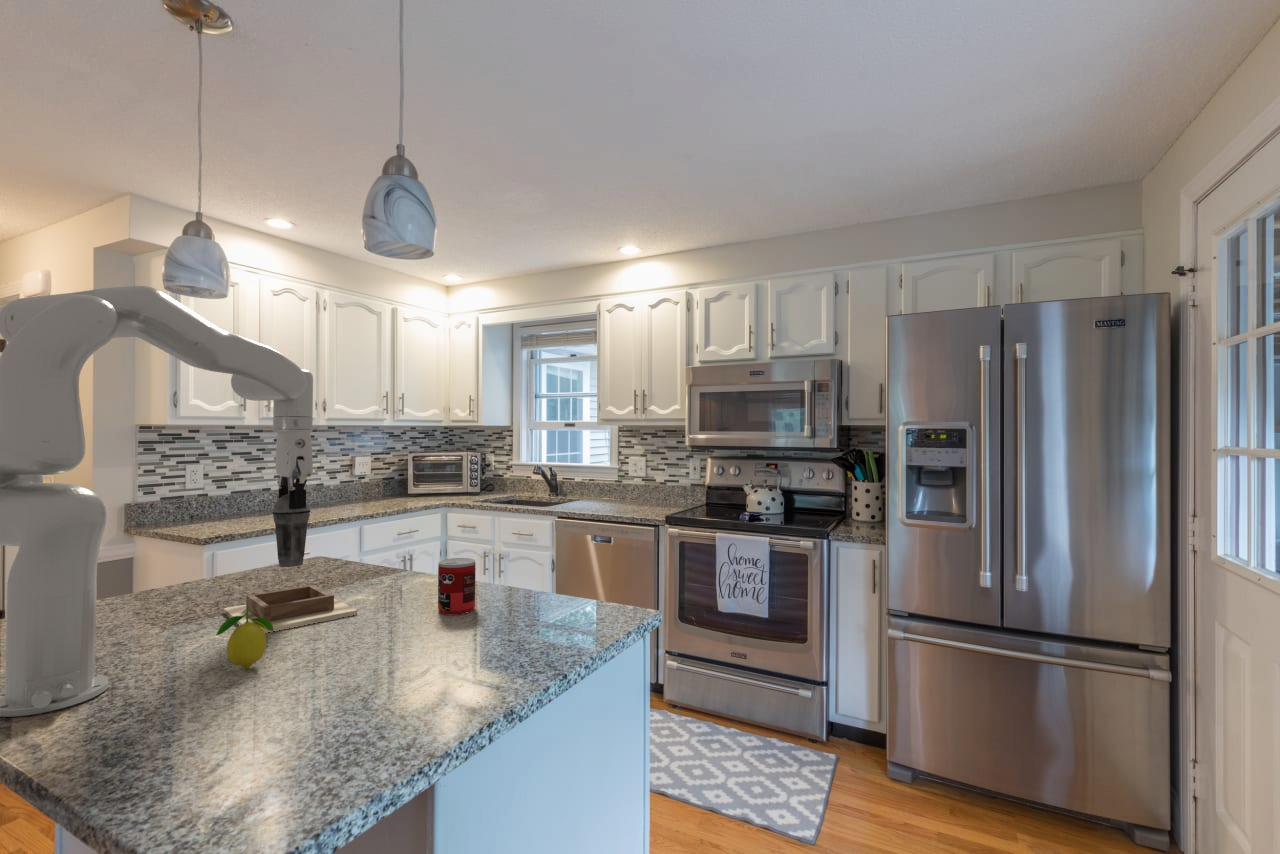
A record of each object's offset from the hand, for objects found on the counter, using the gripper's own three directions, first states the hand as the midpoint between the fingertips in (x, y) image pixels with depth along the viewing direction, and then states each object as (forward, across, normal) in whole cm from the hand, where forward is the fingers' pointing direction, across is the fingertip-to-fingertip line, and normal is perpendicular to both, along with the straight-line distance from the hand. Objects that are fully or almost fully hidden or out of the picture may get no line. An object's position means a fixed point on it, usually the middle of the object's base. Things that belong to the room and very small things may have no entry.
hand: (292, 506), depth 132 cm
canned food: (+24, -23, -27) cm, 43 cm away
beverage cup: (+13, 0, 0) cm, 13 cm away
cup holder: (+23, 0, 0) cm, 23 cm away
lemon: (+24, -29, +15) cm, 40 cm away
